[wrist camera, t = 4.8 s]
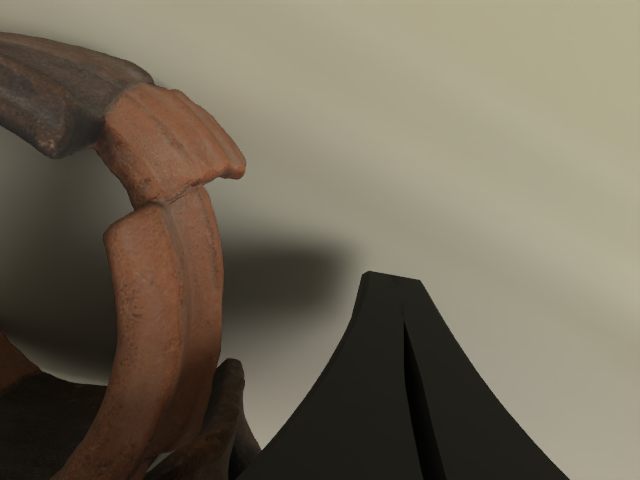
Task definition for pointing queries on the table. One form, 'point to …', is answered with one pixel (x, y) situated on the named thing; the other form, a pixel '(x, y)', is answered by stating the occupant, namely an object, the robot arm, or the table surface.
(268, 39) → the table surface
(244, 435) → the pottery mug
